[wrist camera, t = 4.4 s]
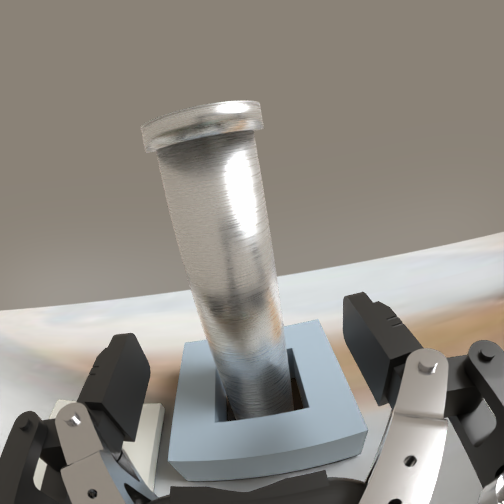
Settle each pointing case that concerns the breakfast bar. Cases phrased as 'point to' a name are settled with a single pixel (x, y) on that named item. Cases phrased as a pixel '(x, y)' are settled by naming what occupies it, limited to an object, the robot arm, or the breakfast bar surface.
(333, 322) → the breakfast bar surface
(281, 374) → the steel pin
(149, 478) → the felt pad
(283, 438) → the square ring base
